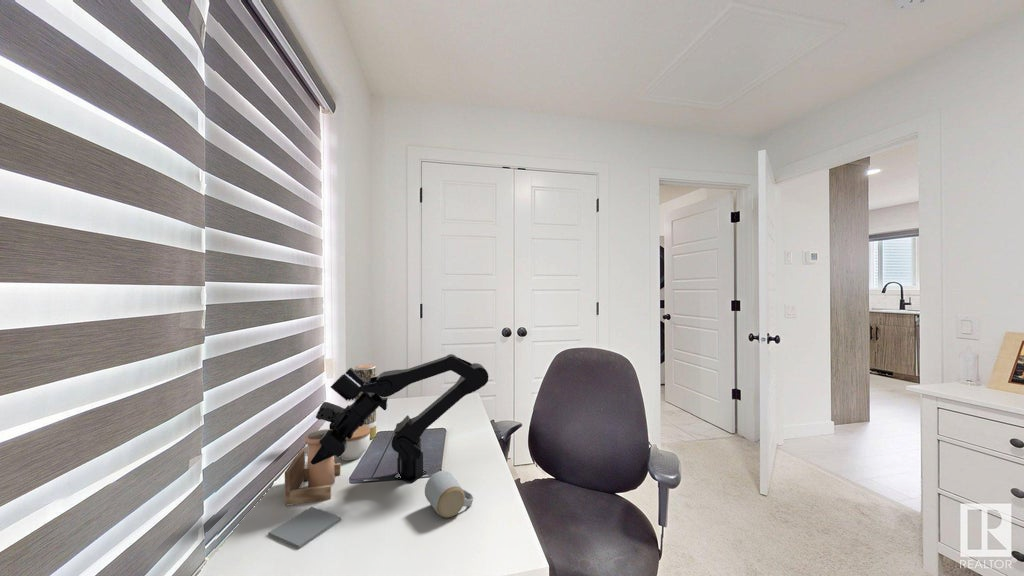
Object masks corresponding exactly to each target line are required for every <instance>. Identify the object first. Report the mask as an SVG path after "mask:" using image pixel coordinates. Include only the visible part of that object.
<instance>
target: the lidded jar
mask: <svg viewBox="0 0 1024 576" xmlns="http://www.w3.org/2000/svg"><path fill="white" fill-rule="evenodd" d="M346 440H347V447H346V449H345V451H344V452H343V454H342V455H341V456H340V458H341V459H342V460H343V461H353V460H357V459H359V458H361V457H363V455H364V453H365V452H366V451H367V449H368V447H369V444H370V442H371V441H370V440H371V439H370V427H368V426H365V425H363V426H362V427H361V426H360V427H359V428H358V429H357V430H356V431H355V432H354V433H353V436H352V437H351V438H350V439H349V438H346Z"/></svg>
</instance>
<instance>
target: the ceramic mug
mask: <svg viewBox="0 0 1024 576" xmlns="http://www.w3.org/2000/svg"><path fill="white" fill-rule="evenodd" d="M424 496H425V498H426V500H427V501H428V503H429V504H430V506H431V507H432V508H433V509H434V511H435V512H436V513H437V514H438V515H439V516H440V517H442V518H446V519H447V518H448V519H449V518H452V517H454V516H456V515H458V514H459V512H461V510H462V509H463V507H471V506H472V504H473V501H474V496H473V495H472V494H471V493H470V492H469V491H468V490H466V489H463V487H462V486H461V485H460V483H459V482H458V481H457V480H456V478H455V477H454V475H453V474H452V473H451V472H449V471H448V470H439V471H437V472H435V473H433V474H432V475H431V476H430V477H429V478H428V480H427V482H426V483H425V486H424Z"/></svg>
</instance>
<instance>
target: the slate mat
mask: <svg viewBox="0 0 1024 576" xmlns="http://www.w3.org/2000/svg"><path fill="white" fill-rule="evenodd" d="M341 521H342V517H341V516H339V515H336V514H334V513H331V512H327V511H325V510H322V509H320V508H317V507H313V506H310V507H308V508H306V509H305V510H304V511H301V512H300V513H298V514H297V515H295V516H294V517H292V518H290V519H289V520H287V521H285V522H283V523H281V524H280V525H278V526H277V527H275V528H273V529H271V530H269V531H268V532H267V533H268V534H267V535H268V537H269V536H270V537H272V538H274V539H276V540H278V541H281V542H282V543H285V544H287V545H289V546H292V547H293V548H296V549H298V550H301V548H303V547H304V546H306V545H308V544H309V543H310V542H311V541H313V540H315V539H316V538H317V537H319V536H320V535H322V534H323V533H325V532H327V531H328V530H329V529H331V528H332V527H333V526H336V524H338V523H339V522H341Z"/></svg>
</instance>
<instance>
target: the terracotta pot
mask: <svg viewBox="0 0 1024 576" xmlns="http://www.w3.org/2000/svg"><path fill="white" fill-rule="evenodd" d="M328 430H331V429H328V428H327V429H320V430H319V429H318V430H315V431H313V432H310V433H308V434H306V435H305V436H304V442H305V443H306V444H307V467H308V479H307V488H311V487H318V486H325V485H331V486H333V485H334V484H335V479H336V476H335V469H334V464H335V456H332V457H330V458H327V459H325V460H323V461H321V462H319V463H316V464H314V465H313V464H312V463H311V460H312V459H313V457H314V456H315V454H316V453H317V451H318V450H319V449H320V447H321V444H320V442H319V441H320V439H321V438H322V436H323V435H324V434H325V433H326V432H327V431H328Z"/></svg>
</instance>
